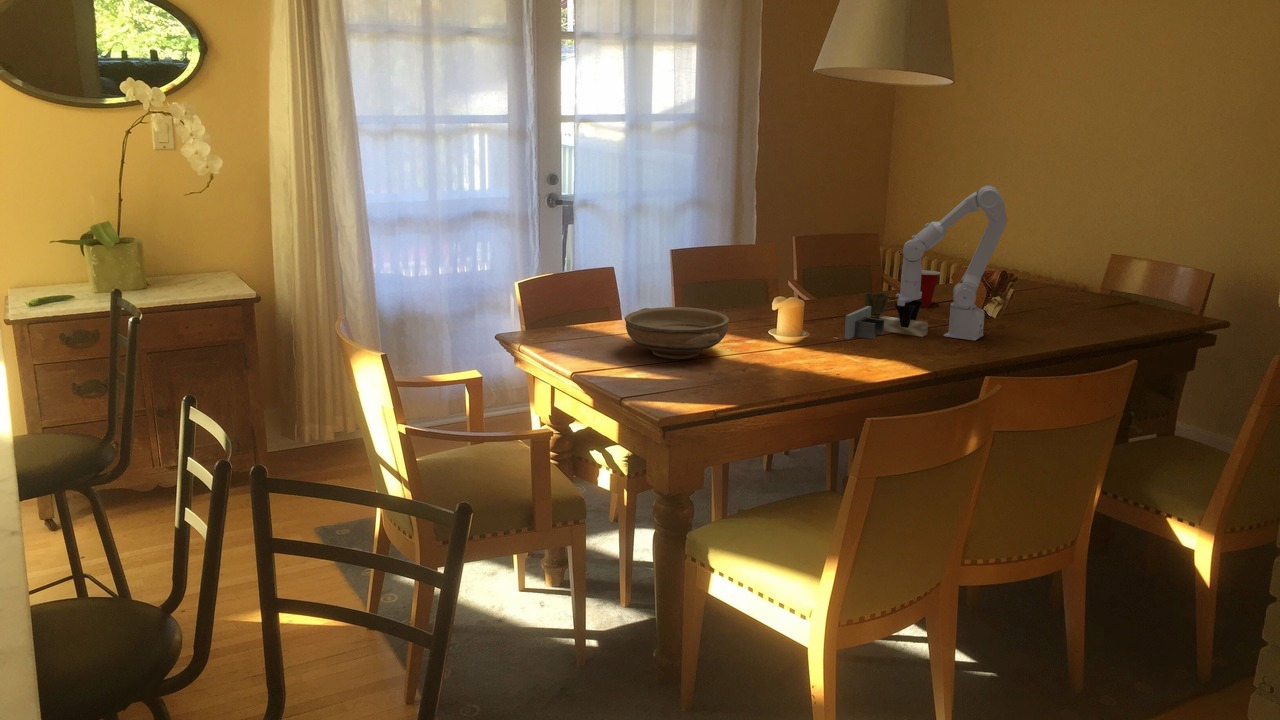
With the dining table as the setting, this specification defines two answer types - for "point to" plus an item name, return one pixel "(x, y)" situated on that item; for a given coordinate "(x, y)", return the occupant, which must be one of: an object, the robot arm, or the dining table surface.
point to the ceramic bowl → (676, 330)
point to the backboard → (853, 318)
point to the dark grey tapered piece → (876, 303)
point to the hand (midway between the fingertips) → (907, 325)
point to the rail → (914, 327)
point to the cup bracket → (869, 327)
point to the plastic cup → (928, 286)
